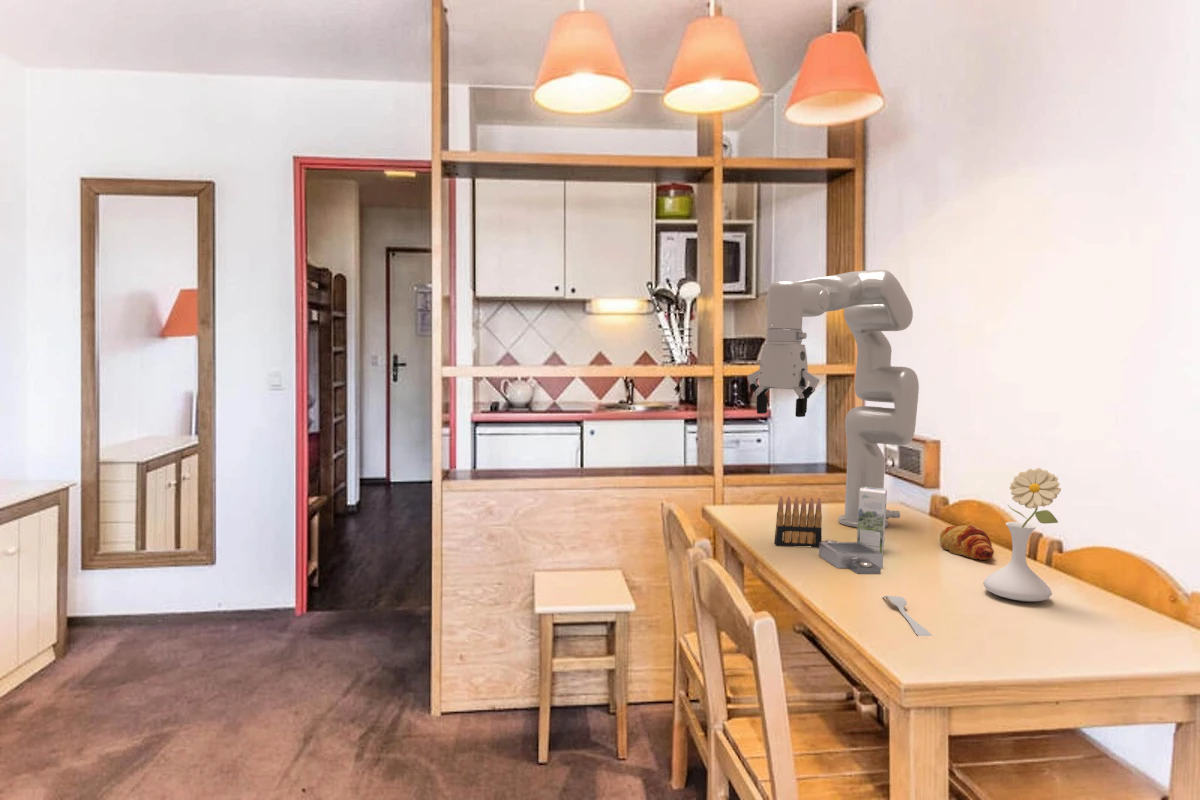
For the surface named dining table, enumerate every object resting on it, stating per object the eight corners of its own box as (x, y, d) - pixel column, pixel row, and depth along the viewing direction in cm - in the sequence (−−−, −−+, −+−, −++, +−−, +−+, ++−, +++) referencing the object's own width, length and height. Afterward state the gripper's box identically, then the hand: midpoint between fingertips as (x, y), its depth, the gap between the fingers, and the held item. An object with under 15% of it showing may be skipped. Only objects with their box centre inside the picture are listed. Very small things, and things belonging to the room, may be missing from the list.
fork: (917, 654, 119) (919, 638, 118) (878, 598, 139) (879, 584, 139) (935, 655, 119) (937, 639, 118) (893, 599, 139) (895, 585, 139)
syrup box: (884, 549, 174) (887, 487, 173) (882, 555, 169) (885, 491, 168) (858, 546, 177) (861, 485, 176) (855, 551, 171) (858, 489, 170)
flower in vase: (968, 590, 144) (976, 462, 143) (1011, 585, 148) (1019, 460, 147) (1030, 613, 132) (1038, 472, 131) (1074, 606, 136) (1083, 470, 135)
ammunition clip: (819, 547, 176) (822, 497, 175) (821, 549, 174) (824, 498, 174) (774, 545, 177) (776, 495, 176) (775, 547, 175) (777, 496, 174)
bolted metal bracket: (846, 546, 176) (846, 533, 176) (892, 573, 154) (892, 559, 154) (805, 546, 175) (805, 533, 175) (845, 573, 153) (846, 559, 153)
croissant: (932, 554, 185) (918, 525, 184) (968, 536, 185) (954, 507, 184) (977, 578, 164) (962, 546, 163) (1018, 557, 164) (1003, 525, 163)
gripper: (828, 338, 162) (824, 417, 163) (759, 338, 174) (756, 411, 175) (811, 337, 157) (807, 418, 158) (741, 337, 169) (738, 412, 170)
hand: (780, 414), depth 166 cm, fingers open, 9 cm apart
